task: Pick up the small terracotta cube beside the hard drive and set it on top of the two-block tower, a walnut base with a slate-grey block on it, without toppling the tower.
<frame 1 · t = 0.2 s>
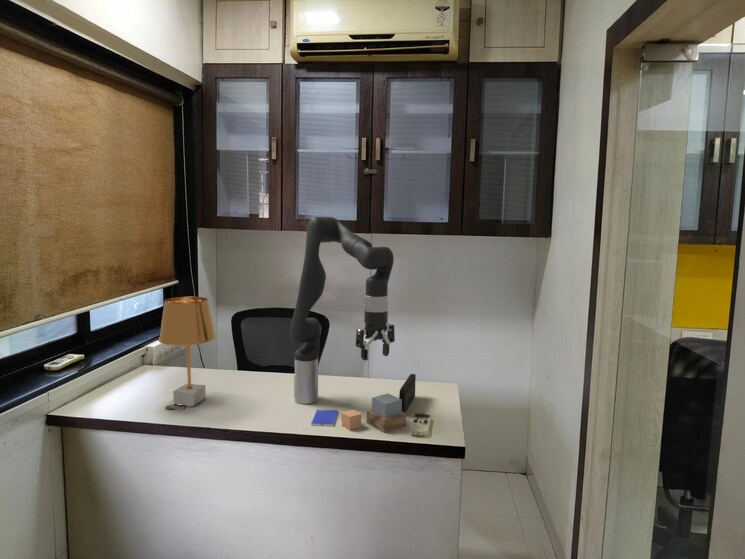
hand: (375, 357, 168), 28 cm above the table, tool pointing down, fingers open, 8 cm apart
walnut base block: (386, 425, 184), on the table, touching slate middle block
terracotta cube: (351, 426, 182), on the table
slate middle block: (386, 412, 183), point 5 cm above the table, touching walnut base block
nameplate: (407, 406, 202), on the table
hard drive: (324, 420, 188), on the table
lamp: (190, 402, 202), on the table
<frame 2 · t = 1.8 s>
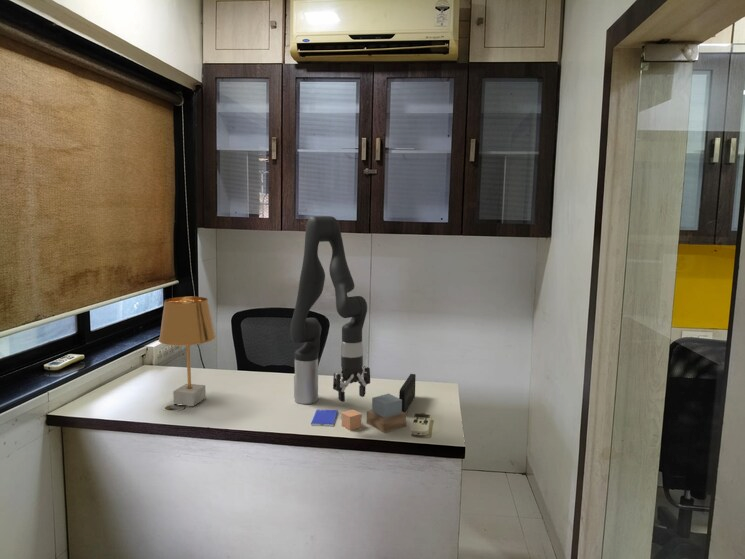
hand: (352, 398, 180), 10 cm above the table, tool pointing down, fingers open, 8 cm apart
nothing on the table moved.
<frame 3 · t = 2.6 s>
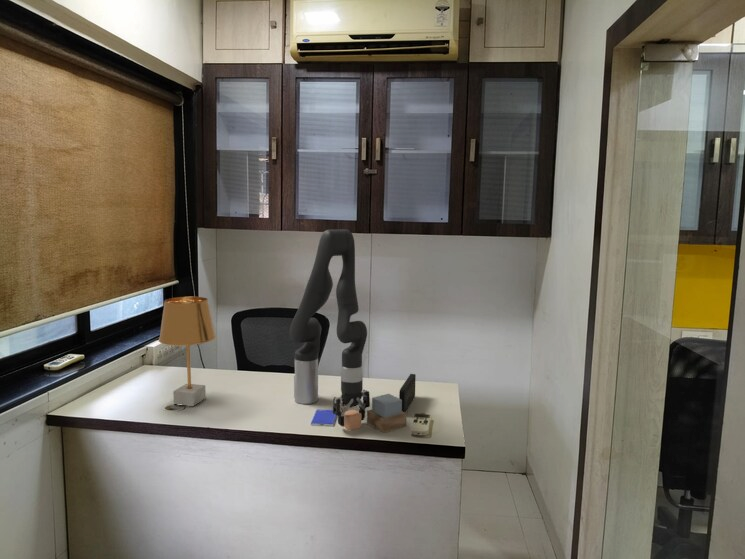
hand: (351, 422, 181), 1 cm above the table, tool pointing down, fingers open, 8 cm apart
nothing on the table moved.
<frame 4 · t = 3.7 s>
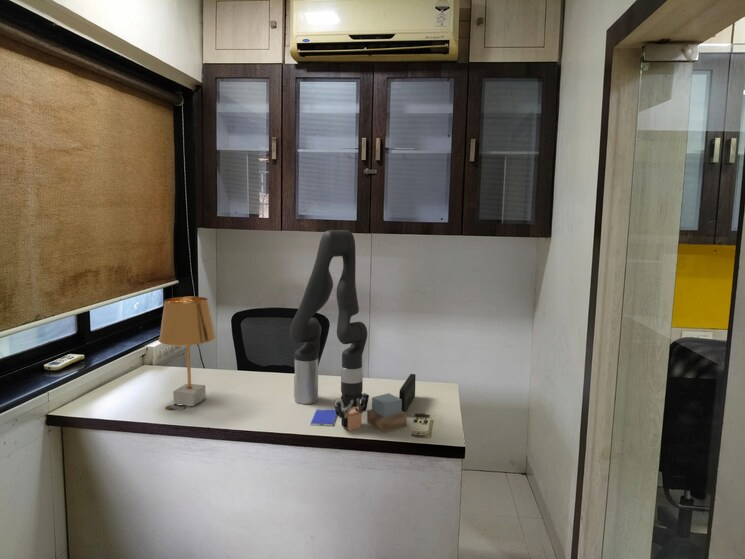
hand: (351, 425, 182), 0 cm above the table, tool pointing down, fingers closed on terracotta cube, 5 cm apart
terracotta cube: (351, 426, 182), on the table, touching gripper
everything else where it was.
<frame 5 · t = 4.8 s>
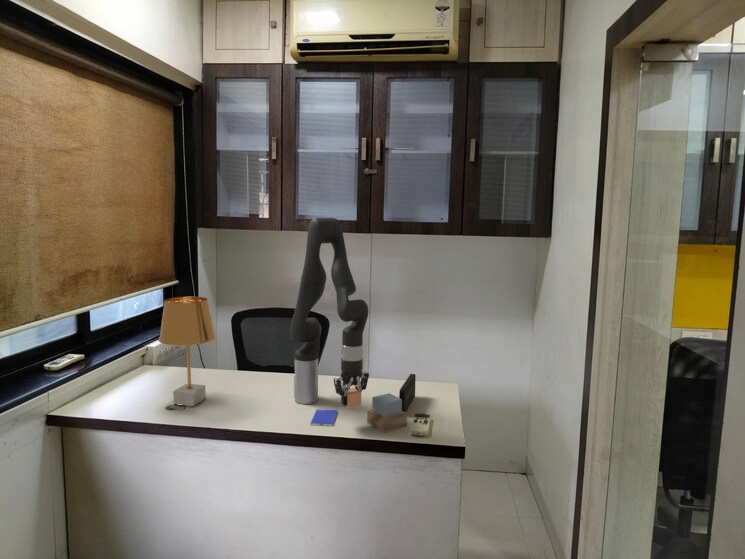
hand: (351, 403, 181), 8 cm above the table, tool pointing down, fingers closed on terracotta cube, 5 cm apart
walnut base block: (386, 425, 184), on the table
terracotta cube: (351, 404, 181), point 8 cm above the table, touching gripper
slate middle block: (386, 411, 183), point 5 cm above the table
everything else where it was.
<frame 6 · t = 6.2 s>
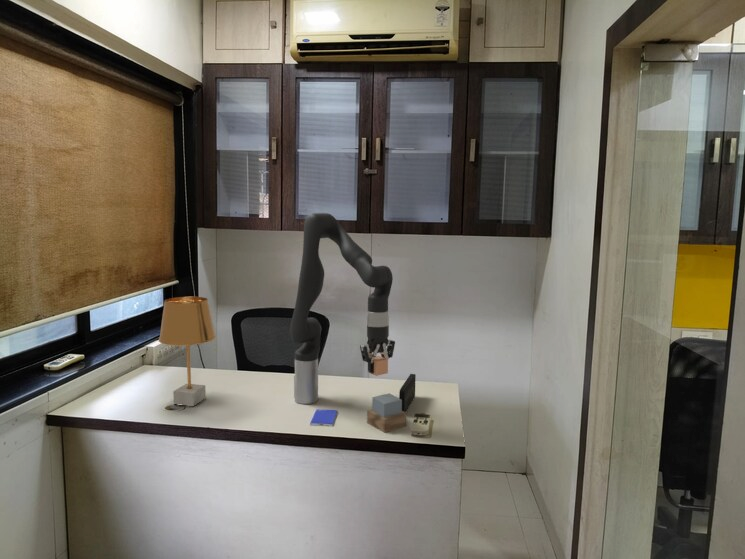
hand: (377, 371, 180), 20 cm above the table, tool pointing down, fingers closed on terracotta cube, 5 cm apart
walnut base block: (386, 425, 184), on the table, touching slate middle block
terracotta cube: (377, 372, 180), point 19 cm above the table, touching gripper
slate middle block: (386, 411, 183), point 5 cm above the table, touching walnut base block
everything else where it was.
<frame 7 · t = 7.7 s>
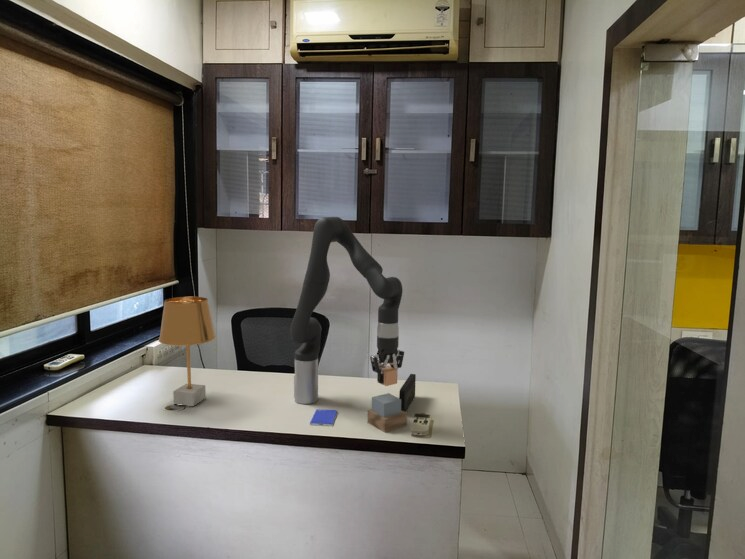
hand: (387, 381, 181), 16 cm above the table, tool pointing down, fingers closed on terracotta cube, 5 cm apart
terracotta cube: (387, 382, 181), point 15 cm above the table, touching gripper
everything else where it was.
when the fingers open (11 cm above the table, at t = 9.8 s): terracotta cube drops 1 cm, resting on slate middle block.
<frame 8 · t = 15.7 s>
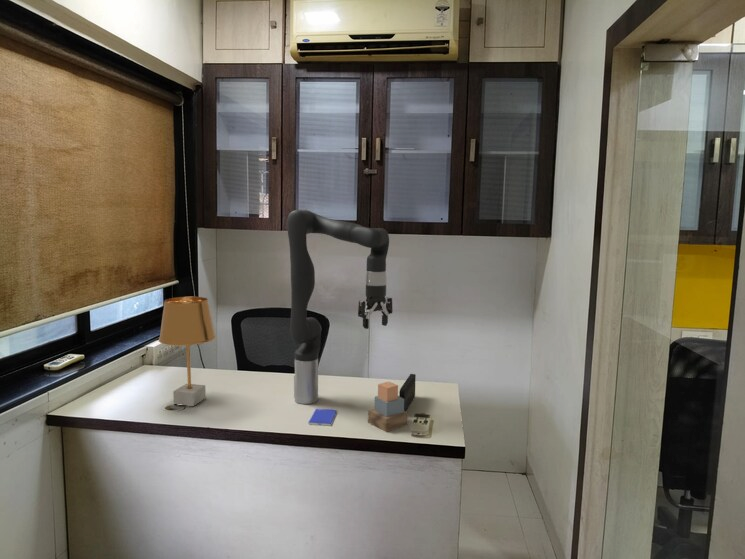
hand: (375, 326, 190), 33 cm above the table, tool pointing down, fingers open, 8 cm apart
terracotta cube: (387, 398, 183), point 10 cm above the table, touching slate middle block
slate middle block: (389, 411, 184), point 5 cm above the table, touching terracotta cube, walnut base block
everything else where it was.
at the end: terracotta cube 0.5 cm off-centre on the walnut base block, point 10.0 cm above the walnut base block's base; slate middle block 0.5 cm off-centre on the walnut base block, point 5.0 cm above the walnut base block's base; the gripper is holding nothing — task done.
